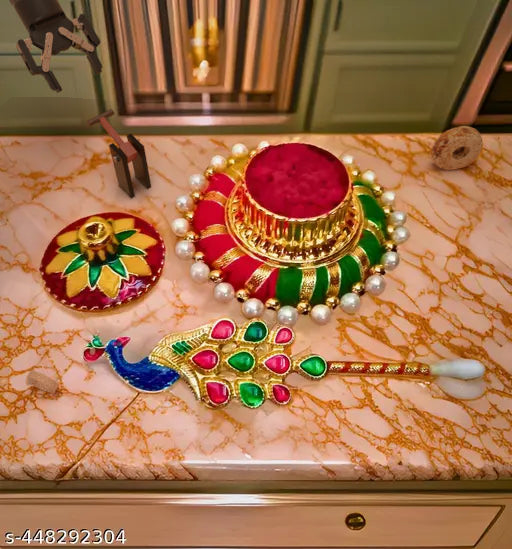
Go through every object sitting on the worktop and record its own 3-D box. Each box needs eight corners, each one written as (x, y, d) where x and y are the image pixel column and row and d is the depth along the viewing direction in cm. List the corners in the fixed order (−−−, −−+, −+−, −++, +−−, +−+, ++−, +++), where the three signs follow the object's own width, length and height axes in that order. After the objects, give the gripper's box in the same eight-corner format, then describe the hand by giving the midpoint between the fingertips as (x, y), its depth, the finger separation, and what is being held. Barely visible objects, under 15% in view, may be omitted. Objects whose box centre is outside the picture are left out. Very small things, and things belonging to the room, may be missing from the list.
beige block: (38, 376, 97) (29, 364, 92) (64, 385, 96) (56, 374, 92) (30, 390, 95) (20, 379, 91) (55, 400, 94) (47, 389, 90)
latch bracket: (104, 184, 120) (92, 138, 109) (136, 166, 123) (127, 120, 112) (135, 216, 116) (125, 172, 105) (167, 197, 119) (161, 152, 108)
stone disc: (429, 173, 125) (443, 139, 116) (424, 161, 127) (438, 126, 118) (475, 169, 126) (492, 136, 117) (469, 157, 128) (486, 123, 119)
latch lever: (86, 125, 111) (86, 118, 109) (110, 113, 113) (110, 105, 111) (120, 167, 110) (120, 161, 108) (143, 154, 112) (144, 147, 110)
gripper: (-3, 4, 98) (49, 94, 103) (71, -25, 103) (117, 62, 108) (-7, 17, 104) (43, 101, 109) (62, -10, 110) (107, 71, 115)
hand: (79, 82), depth 109 cm, fingers open, 8 cm apart
